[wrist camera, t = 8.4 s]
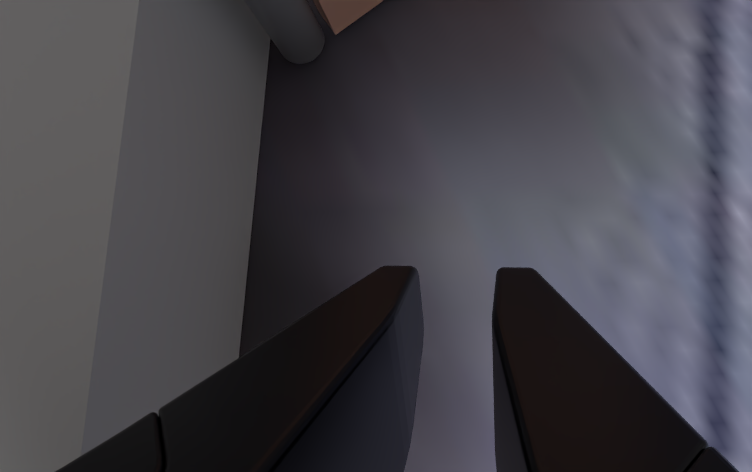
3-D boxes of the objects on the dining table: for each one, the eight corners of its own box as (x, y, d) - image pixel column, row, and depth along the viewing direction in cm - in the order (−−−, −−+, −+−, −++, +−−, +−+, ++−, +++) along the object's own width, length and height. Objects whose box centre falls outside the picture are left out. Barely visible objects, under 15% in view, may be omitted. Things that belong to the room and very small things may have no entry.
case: (224, 502, 17) (61, 601, 10) (-35, 471, 18) (-326, 544, 11) (272, 22, 18) (157, -148, 12) (33, 23, 19) (-187, -132, 13)
